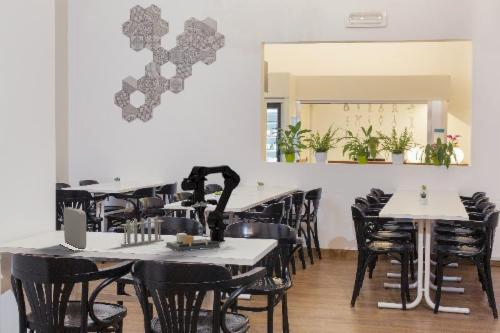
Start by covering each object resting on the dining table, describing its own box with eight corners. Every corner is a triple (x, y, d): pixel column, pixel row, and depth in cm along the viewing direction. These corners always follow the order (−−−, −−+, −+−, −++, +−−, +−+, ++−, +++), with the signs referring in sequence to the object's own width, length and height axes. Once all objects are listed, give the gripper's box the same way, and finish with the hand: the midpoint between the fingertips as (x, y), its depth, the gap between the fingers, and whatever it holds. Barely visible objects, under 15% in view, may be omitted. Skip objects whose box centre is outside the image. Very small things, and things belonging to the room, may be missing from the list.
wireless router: (94, 250, 366) (93, 210, 365) (75, 252, 361) (74, 212, 360) (75, 242, 393) (74, 205, 392) (57, 243, 388) (56, 206, 386)
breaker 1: (183, 240, 379) (183, 233, 378) (187, 241, 375) (186, 234, 374) (176, 241, 377) (176, 233, 377) (179, 242, 373) (179, 234, 373)
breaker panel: (205, 242, 386) (205, 238, 386) (219, 247, 370) (219, 243, 370) (166, 246, 376) (166, 242, 376) (179, 251, 360) (179, 246, 360)
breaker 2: (190, 243, 370) (190, 235, 370) (193, 244, 366) (193, 236, 366) (183, 243, 369) (183, 235, 368) (186, 244, 365) (186, 237, 364)
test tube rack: (125, 246, 378) (124, 221, 377) (120, 245, 381) (120, 220, 380) (164, 240, 395) (164, 216, 394) (159, 240, 398) (159, 216, 397)
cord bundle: (216, 243, 372) (216, 240, 372) (218, 243, 370) (218, 240, 370) (178, 246, 362) (178, 243, 362) (179, 247, 360) (179, 244, 360)
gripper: (209, 187, 392) (209, 216, 393) (176, 189, 384) (177, 218, 385) (217, 189, 383) (218, 218, 383) (184, 191, 374) (185, 221, 375)
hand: (199, 219), depth 382 cm, fingers closed
